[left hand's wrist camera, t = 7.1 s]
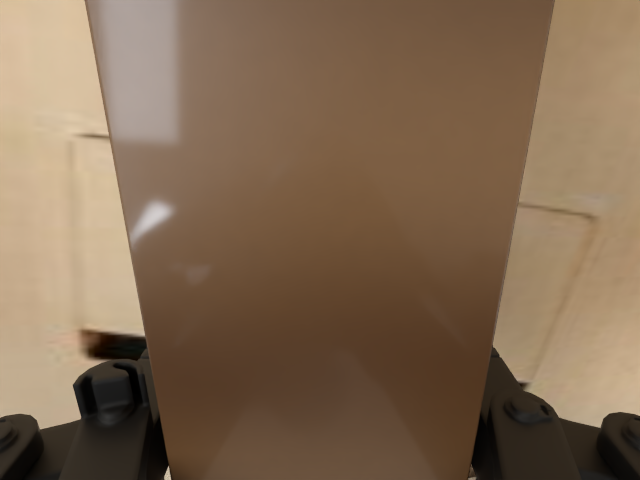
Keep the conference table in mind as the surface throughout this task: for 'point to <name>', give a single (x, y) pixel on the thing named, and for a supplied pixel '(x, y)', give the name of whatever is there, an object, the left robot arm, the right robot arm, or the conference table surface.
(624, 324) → the conference table surface
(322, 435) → the bar
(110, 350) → the conference table surface
